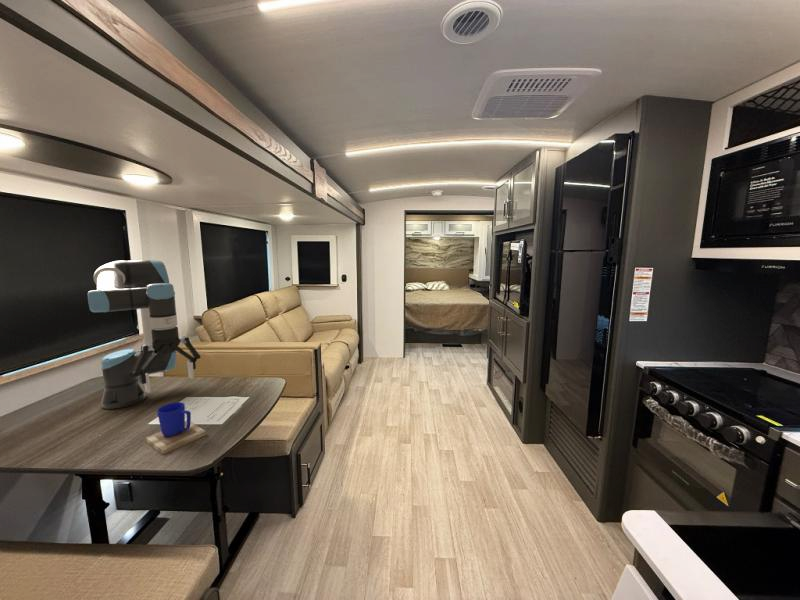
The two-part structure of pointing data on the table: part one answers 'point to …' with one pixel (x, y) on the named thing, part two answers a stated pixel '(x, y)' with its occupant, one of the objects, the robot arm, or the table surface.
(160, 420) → the mug
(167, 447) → the trivet
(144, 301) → the robot arm
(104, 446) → the table surface
